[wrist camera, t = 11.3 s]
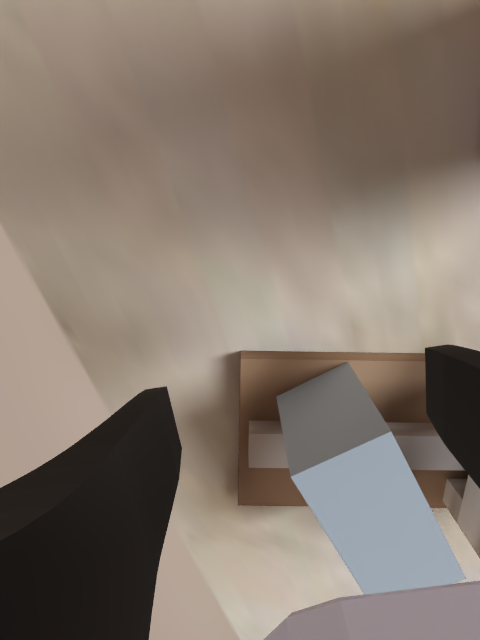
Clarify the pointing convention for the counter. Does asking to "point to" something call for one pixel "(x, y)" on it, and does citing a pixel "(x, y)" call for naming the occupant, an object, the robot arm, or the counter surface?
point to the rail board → (391, 401)
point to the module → (362, 486)
